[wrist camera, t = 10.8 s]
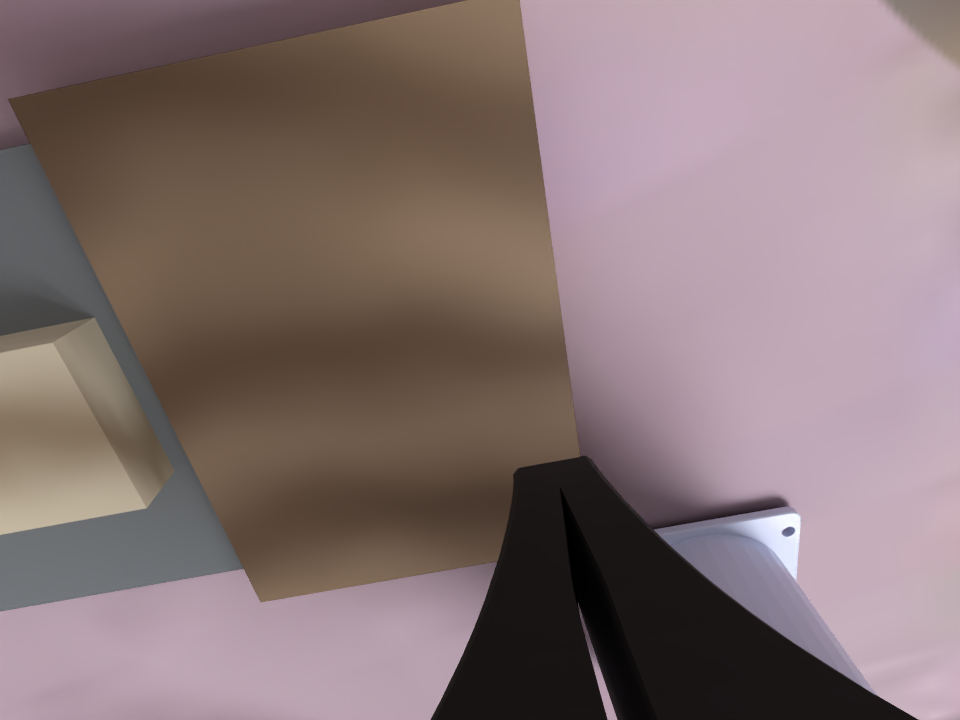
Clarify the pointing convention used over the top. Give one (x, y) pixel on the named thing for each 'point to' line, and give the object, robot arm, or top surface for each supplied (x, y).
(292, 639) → the top surface
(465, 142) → the walnut board
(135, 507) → the birch block
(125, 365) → the charcoal mat
